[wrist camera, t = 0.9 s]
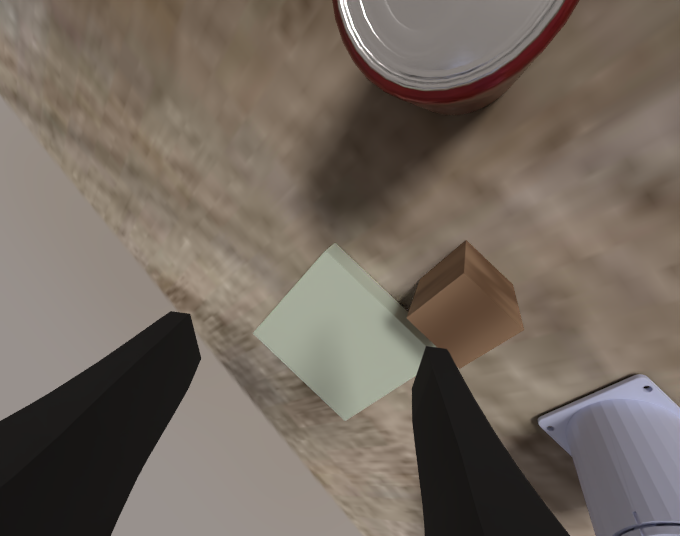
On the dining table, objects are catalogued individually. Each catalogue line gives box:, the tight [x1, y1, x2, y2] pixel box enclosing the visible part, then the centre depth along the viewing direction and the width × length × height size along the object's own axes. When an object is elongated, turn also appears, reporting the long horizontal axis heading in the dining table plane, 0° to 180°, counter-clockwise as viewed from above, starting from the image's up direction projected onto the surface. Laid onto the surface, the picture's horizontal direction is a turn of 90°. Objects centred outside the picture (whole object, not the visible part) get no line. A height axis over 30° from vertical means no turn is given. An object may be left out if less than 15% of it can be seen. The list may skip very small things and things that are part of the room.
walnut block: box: [407, 240, 524, 369], centre depth 22 cm, size 4×4×6 cm
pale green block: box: [253, 243, 436, 421], centre depth 29 cm, size 12×12×2 cm
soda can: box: [332, 0, 579, 115], centre depth 14 cm, size 7×7×12 cm
